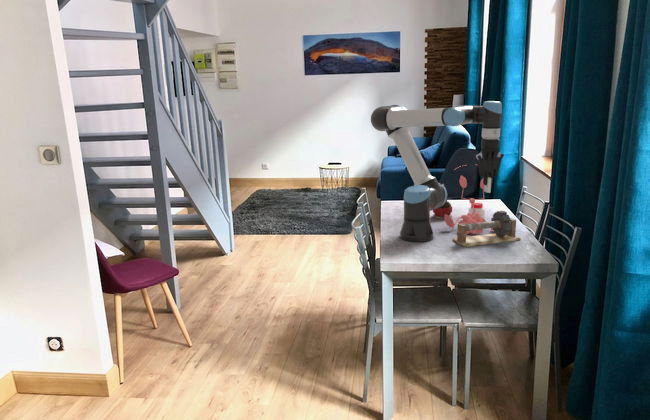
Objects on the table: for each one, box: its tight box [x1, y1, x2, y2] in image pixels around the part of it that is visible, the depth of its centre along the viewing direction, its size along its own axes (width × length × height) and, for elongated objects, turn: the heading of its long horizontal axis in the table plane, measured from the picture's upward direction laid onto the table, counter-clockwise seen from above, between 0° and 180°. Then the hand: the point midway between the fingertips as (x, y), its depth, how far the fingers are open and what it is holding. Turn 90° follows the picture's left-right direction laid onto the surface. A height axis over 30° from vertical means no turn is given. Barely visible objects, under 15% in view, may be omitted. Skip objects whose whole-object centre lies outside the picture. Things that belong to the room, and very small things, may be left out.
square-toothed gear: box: [490, 210, 512, 237], centre depth 235 cm, size 3×11×11 cm, turn 16°
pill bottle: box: [468, 202, 486, 222], centre depth 258 cm, size 8×8×11 cm
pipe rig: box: [452, 217, 521, 248], centre depth 234 cm, size 28×10×9 cm, turn 106°
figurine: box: [443, 164, 496, 235], centre depth 252 cm, size 15×26×35 cm
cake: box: [432, 183, 453, 220], centre depth 274 cm, size 11×9×18 cm
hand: (487, 192), depth 230 cm, fingers closed
